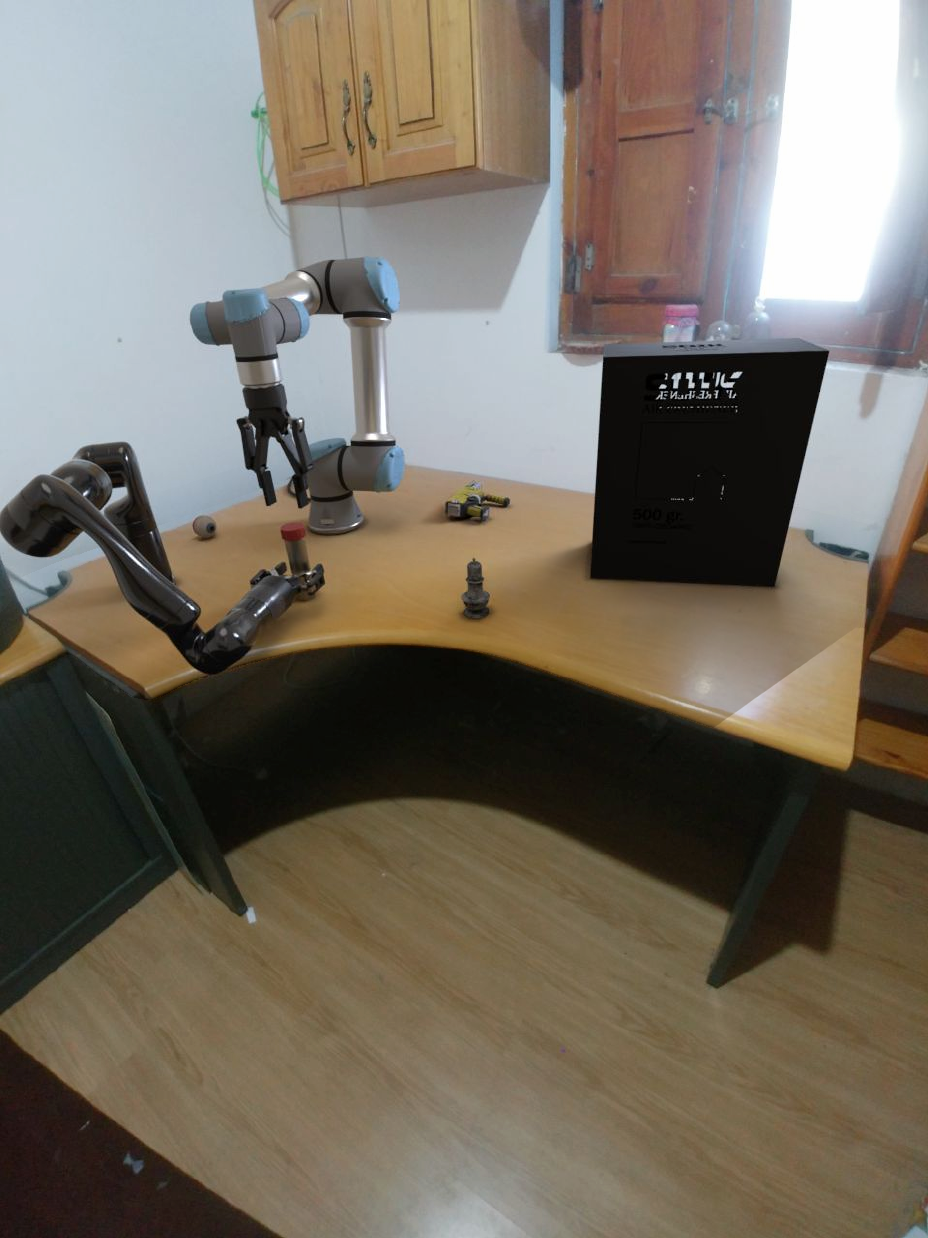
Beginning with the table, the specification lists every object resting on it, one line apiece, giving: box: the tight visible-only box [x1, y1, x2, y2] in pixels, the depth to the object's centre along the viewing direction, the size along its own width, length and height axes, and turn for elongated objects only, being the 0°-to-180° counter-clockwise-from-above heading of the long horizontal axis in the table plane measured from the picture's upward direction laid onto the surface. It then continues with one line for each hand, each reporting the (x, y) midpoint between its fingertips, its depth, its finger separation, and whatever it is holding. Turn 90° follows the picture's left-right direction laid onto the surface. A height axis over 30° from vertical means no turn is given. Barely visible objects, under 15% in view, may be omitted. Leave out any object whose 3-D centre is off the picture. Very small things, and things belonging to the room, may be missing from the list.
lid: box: [279, 521, 307, 542], centre depth 125 cm, size 5×5×2 cm
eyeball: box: [192, 514, 217, 538], centre depth 165 cm, size 6×6×6 cm
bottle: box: [283, 537, 317, 602], centre depth 128 cm, size 4×4×16 cm
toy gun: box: [444, 480, 511, 521], centre depth 175 cm, size 5×24×15 cm
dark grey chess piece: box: [460, 557, 491, 619], centre depth 119 cm, size 6×6×12 cm
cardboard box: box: [589, 337, 830, 587], centre depth 126 cm, size 38×20×45 cm, turn 78°
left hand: (302, 566), depth 130 cm, fingers open, 8 cm apart
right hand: (287, 504), depth 122 cm, fingers open, 7 cm apart
